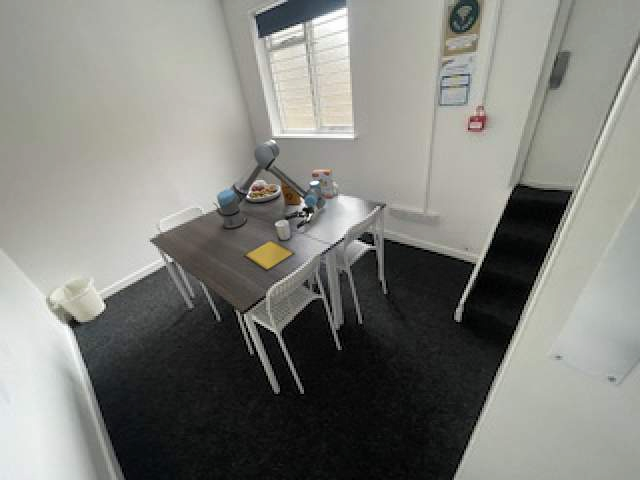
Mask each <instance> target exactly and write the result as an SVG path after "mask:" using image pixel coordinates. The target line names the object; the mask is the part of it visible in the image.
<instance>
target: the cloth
mask: <svg viewBox="0 0 640 480" xmlns="http://www.w3.org/2000/svg"><path fill="white" fill-rule="evenodd" d="M292 255H294V252H293V251H291V250H289V249H287V248H285V247H284V246H281V245H280V244H278V243H276V242H274V241H273V240H269V241H267V242H266V243H264V244H262V245H261V246H259V247H257V248H255V249H253V250H251V251H250V252H248V253H246V254H245V255H244V256H245V257H246V258H248V259H250V261H253V262H254V263H256V264H257V265H258V266H260V267H261V268H263V269H265V270H266V271H268V270H270V269H272V268H273V267H275V266H276V265H278V264H279V263H281V262H283V261H284V260H285V259H287V258H289V257H290V256H292Z"/></svg>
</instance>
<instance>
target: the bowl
mask: <svg viewBox="0 0 640 480" xmlns="http://www.w3.org/2000/svg"><path fill="white" fill-rule="evenodd" d="M249 190H250V191H249V193H248V195H247V197H246V198H245V199H247V201H249V202H251V203H264V202H269V201H272V200H274V199H276V198H277V197H278V196H279V195H281V193H282V189H281V185H278V184H258V185H256V184H254V185H252V186H251V188H250V189H249Z"/></svg>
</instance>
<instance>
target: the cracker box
mask: <svg viewBox="0 0 640 480" xmlns="http://www.w3.org/2000/svg"><path fill="white" fill-rule="evenodd" d="M311 177H312V182H315V181H318V182H320V184H321V191H322V197H324V198H325V199H332V198H333V197H334V196H335V191H334V181H333V173H332V169H313V170H312V171H311Z"/></svg>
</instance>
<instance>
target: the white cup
mask: <svg viewBox="0 0 640 480" xmlns="http://www.w3.org/2000/svg"><path fill="white" fill-rule="evenodd" d="M289 223H290V222H289V220H288V221H287V220H282V219H281V220H278V221H276V222H275V224H274V225H275V228H276V232H277V234H278V238H279V240H280V241H281V240H282V241H287V240H289V239H291V237H292V235H291V230H290V224H289Z"/></svg>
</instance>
